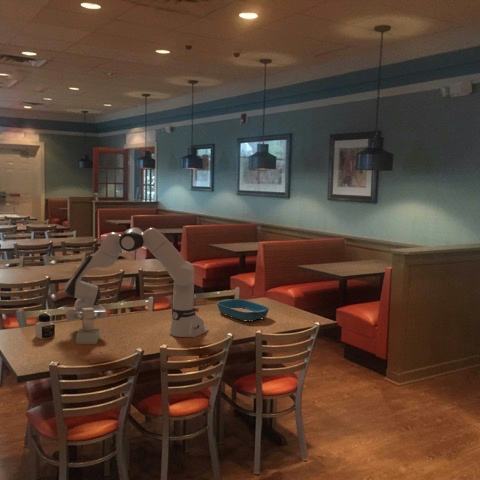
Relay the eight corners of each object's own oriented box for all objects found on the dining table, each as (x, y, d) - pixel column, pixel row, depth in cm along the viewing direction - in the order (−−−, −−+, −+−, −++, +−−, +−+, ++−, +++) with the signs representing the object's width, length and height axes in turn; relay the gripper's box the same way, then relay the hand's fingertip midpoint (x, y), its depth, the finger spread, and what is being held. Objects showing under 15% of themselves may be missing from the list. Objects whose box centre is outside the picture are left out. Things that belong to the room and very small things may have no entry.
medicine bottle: (41, 339, 272) (41, 316, 271) (35, 336, 277) (35, 314, 275) (55, 337, 277) (54, 314, 276) (48, 333, 282) (48, 311, 281)
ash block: (82, 327, 275) (82, 308, 273) (92, 326, 277) (92, 307, 275) (83, 330, 270) (83, 310, 269) (93, 329, 272) (93, 310, 271)
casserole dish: (210, 311, 340) (210, 300, 339) (237, 307, 354) (238, 296, 353) (247, 325, 312) (247, 313, 311) (275, 320, 326) (276, 308, 325)
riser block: (79, 338, 278) (79, 328, 278) (99, 337, 280) (99, 328, 279) (76, 344, 269) (76, 334, 268) (96, 344, 270) (96, 334, 269)
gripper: (64, 306, 280) (66, 313, 267) (104, 304, 288) (108, 310, 275) (64, 318, 281) (66, 325, 268) (104, 315, 289) (108, 322, 276)
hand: (88, 318), depth 272 cm, fingers closed on ash block, 5 cm apart
